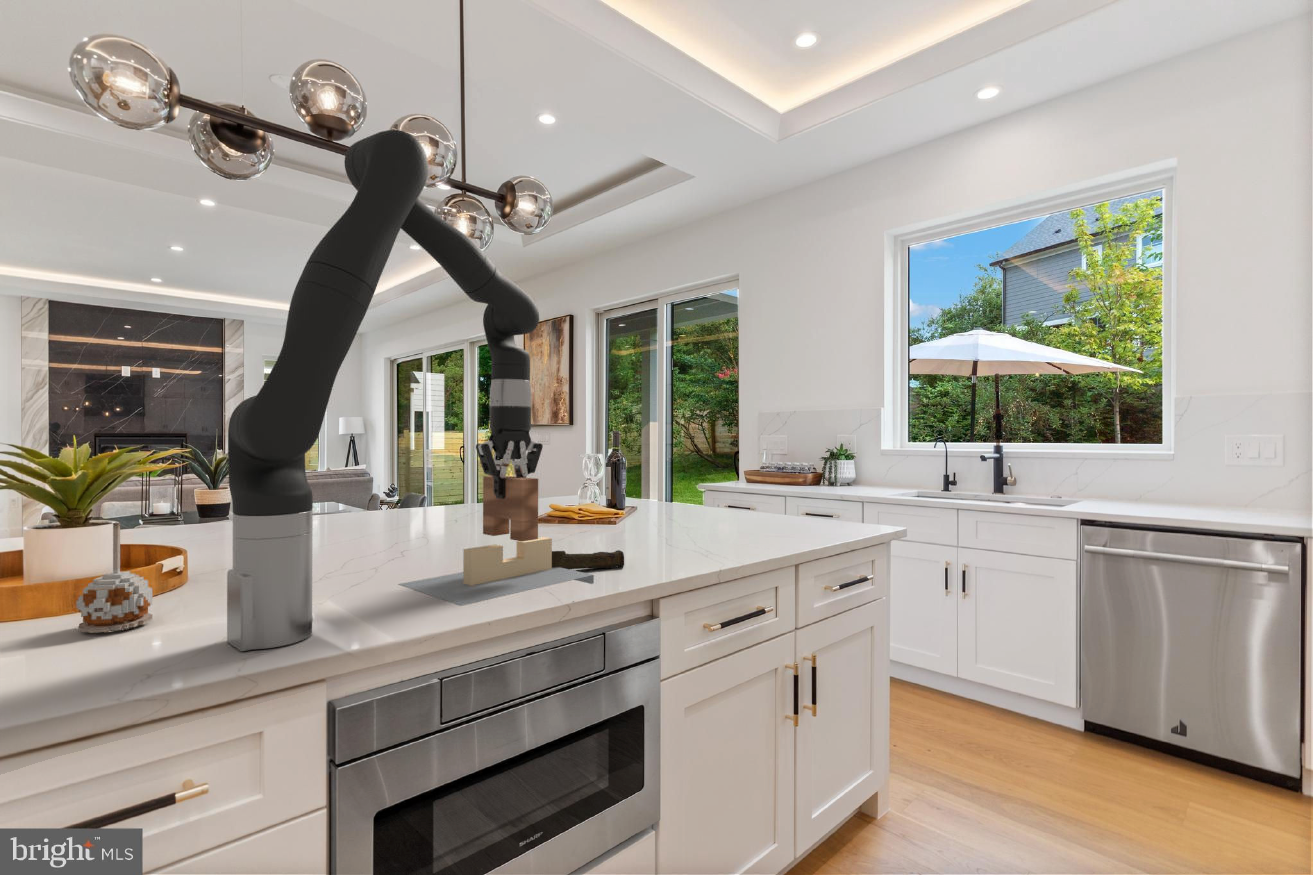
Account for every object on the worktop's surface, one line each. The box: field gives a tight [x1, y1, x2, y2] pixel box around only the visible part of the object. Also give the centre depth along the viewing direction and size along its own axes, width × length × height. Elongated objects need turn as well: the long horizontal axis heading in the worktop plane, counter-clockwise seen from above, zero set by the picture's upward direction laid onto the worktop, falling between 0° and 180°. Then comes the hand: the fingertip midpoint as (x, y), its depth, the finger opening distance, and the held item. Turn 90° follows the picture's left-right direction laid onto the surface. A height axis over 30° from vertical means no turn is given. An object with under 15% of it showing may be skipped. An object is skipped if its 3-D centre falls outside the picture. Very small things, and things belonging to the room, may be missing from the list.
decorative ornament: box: [75, 522, 153, 634], centre depth 89 cm, size 8×8×15 cm
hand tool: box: [552, 549, 625, 570], centre depth 128 cm, size 19×4×5 cm, turn 116°
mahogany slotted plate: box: [482, 475, 539, 542], centre depth 116 cm, size 4×12×11 cm, turn 49°
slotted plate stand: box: [398, 536, 595, 606], centre depth 113 cm, size 28×20×8 cm
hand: (510, 496), depth 116 cm, fingers closed on mahogany slotted plate, 3 cm apart
